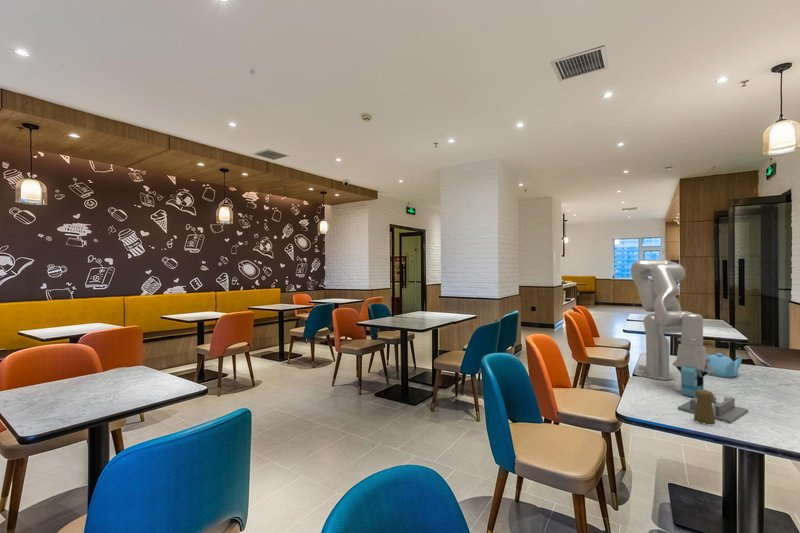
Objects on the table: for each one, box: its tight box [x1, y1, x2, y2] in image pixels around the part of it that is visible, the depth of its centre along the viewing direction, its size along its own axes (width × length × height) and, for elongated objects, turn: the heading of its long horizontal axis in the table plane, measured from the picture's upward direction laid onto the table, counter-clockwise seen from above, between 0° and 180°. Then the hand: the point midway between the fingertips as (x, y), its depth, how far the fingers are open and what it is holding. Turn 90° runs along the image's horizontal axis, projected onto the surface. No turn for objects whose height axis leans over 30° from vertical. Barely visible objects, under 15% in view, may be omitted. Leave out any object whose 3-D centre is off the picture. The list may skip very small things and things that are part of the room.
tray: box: [677, 391, 749, 424], centre depth 145 cm, size 16×19×5 cm
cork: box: [693, 389, 716, 425], centre depth 135 cm, size 6×6×11 cm
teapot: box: [703, 352, 743, 379], centre depth 193 cm, size 15×15×11 cm
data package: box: [680, 366, 704, 398], centre depth 164 cm, size 12×4×12 cm, turn 126°
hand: (692, 383), depth 164 cm, fingers closed on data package, 4 cm apart
